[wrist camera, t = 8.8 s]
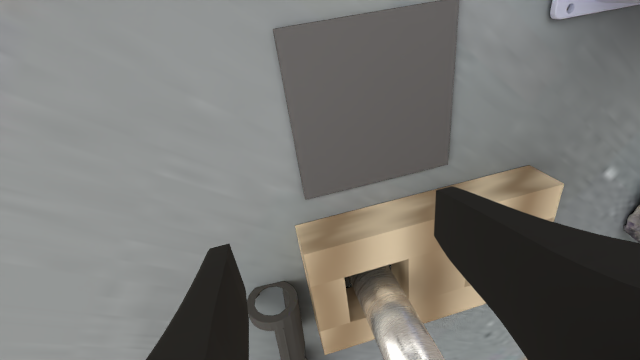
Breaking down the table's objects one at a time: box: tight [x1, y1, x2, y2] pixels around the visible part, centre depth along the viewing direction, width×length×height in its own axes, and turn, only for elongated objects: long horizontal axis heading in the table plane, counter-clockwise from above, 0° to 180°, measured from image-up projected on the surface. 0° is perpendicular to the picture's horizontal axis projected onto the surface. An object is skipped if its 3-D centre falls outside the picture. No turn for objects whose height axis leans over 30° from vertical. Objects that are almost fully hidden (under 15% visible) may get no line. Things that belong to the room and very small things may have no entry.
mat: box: [273, 0, 459, 200], centre depth 19 cm, size 10×10×1 cm
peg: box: [348, 265, 445, 360], centre depth 21 cm, size 3×3×10 cm
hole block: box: [295, 165, 564, 355], centre depth 25 cm, size 18×10×3 cm, turn 98°
